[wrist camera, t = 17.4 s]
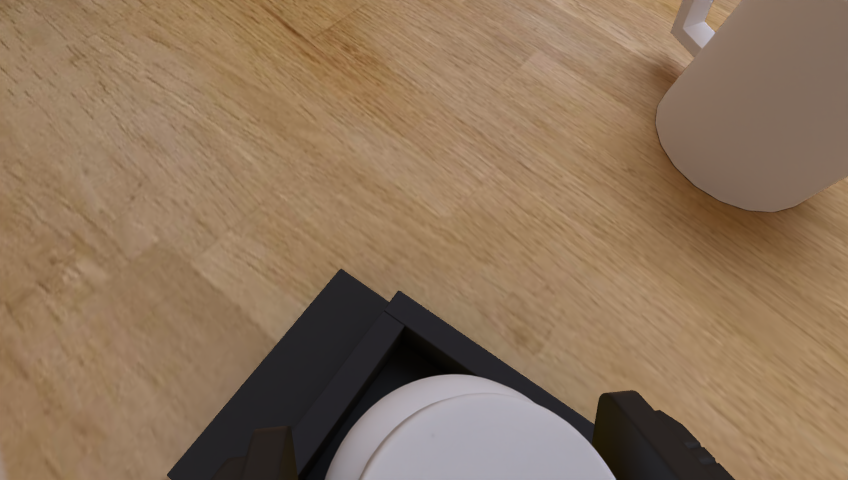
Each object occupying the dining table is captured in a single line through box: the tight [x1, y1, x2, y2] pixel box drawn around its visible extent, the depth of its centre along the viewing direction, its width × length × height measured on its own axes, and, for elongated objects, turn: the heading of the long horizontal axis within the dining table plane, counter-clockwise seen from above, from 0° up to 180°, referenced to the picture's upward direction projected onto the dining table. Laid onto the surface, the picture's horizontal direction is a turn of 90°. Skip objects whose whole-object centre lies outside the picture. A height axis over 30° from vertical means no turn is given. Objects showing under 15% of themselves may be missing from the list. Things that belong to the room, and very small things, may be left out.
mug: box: [655, 0, 848, 212], centre depth 23 cm, size 14×10×11 cm
